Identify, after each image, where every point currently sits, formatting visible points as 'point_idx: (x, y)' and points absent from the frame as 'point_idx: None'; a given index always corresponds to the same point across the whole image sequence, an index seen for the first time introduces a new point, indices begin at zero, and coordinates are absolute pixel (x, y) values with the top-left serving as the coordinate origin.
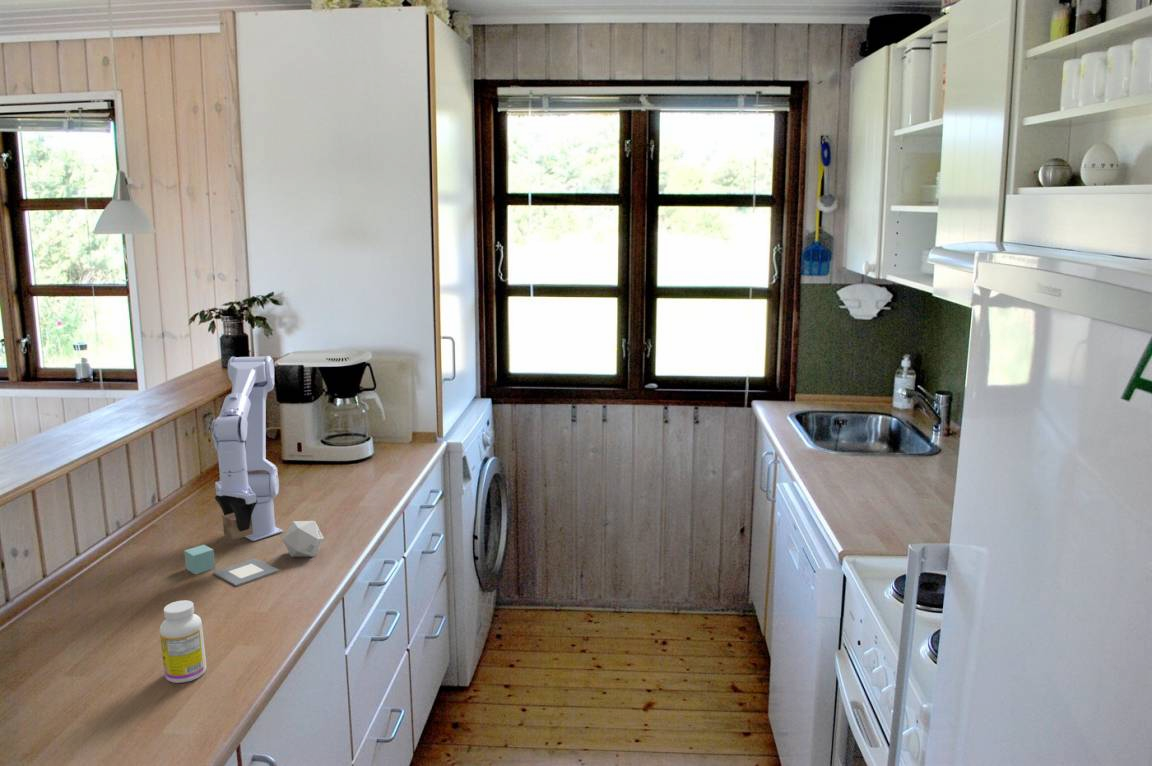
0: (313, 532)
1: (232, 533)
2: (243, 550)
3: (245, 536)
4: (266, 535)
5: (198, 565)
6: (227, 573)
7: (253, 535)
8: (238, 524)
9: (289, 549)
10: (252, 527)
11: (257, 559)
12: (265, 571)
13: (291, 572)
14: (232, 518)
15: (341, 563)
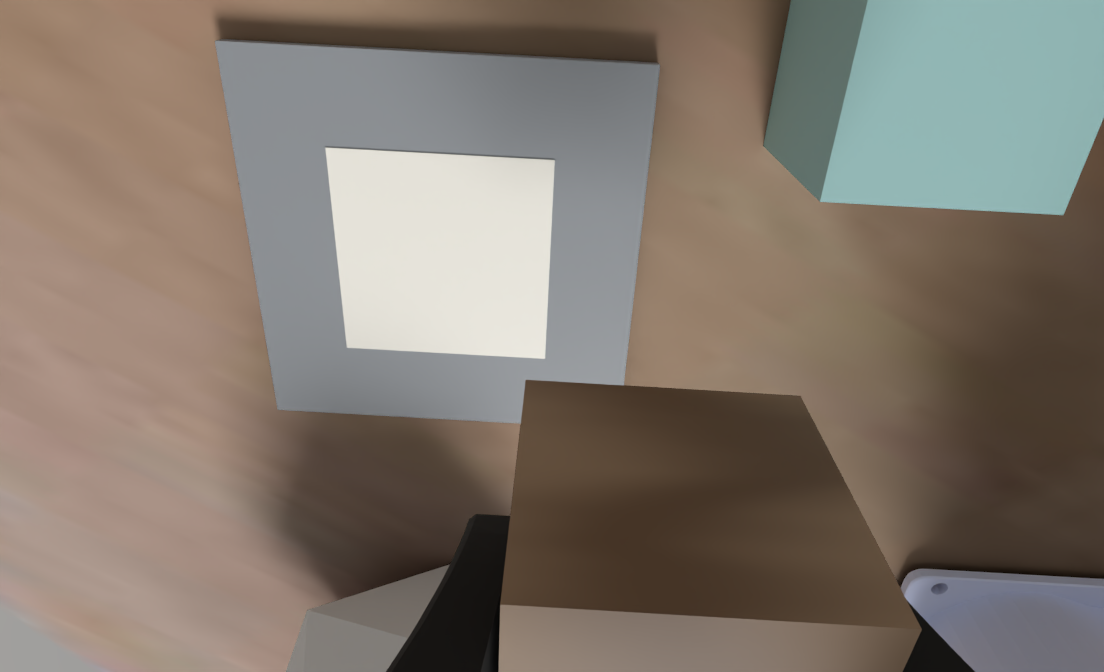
0: None
1: (548, 431)
2: (852, 457)
3: (1028, 578)
4: None
5: None
6: (523, 133)
7: (965, 609)
8: (444, 588)
9: (425, 599)
10: (1002, 664)
11: None
12: (319, 341)
13: (211, 439)
14: (601, 652)
15: (145, 646)
